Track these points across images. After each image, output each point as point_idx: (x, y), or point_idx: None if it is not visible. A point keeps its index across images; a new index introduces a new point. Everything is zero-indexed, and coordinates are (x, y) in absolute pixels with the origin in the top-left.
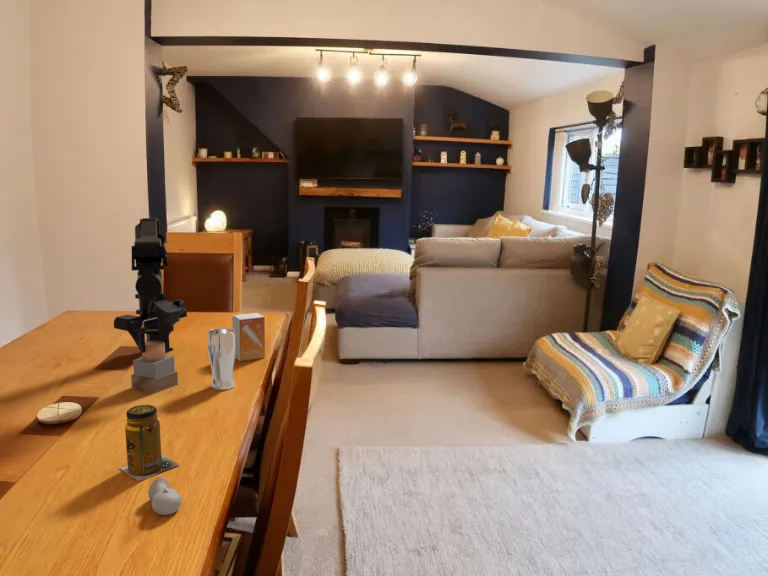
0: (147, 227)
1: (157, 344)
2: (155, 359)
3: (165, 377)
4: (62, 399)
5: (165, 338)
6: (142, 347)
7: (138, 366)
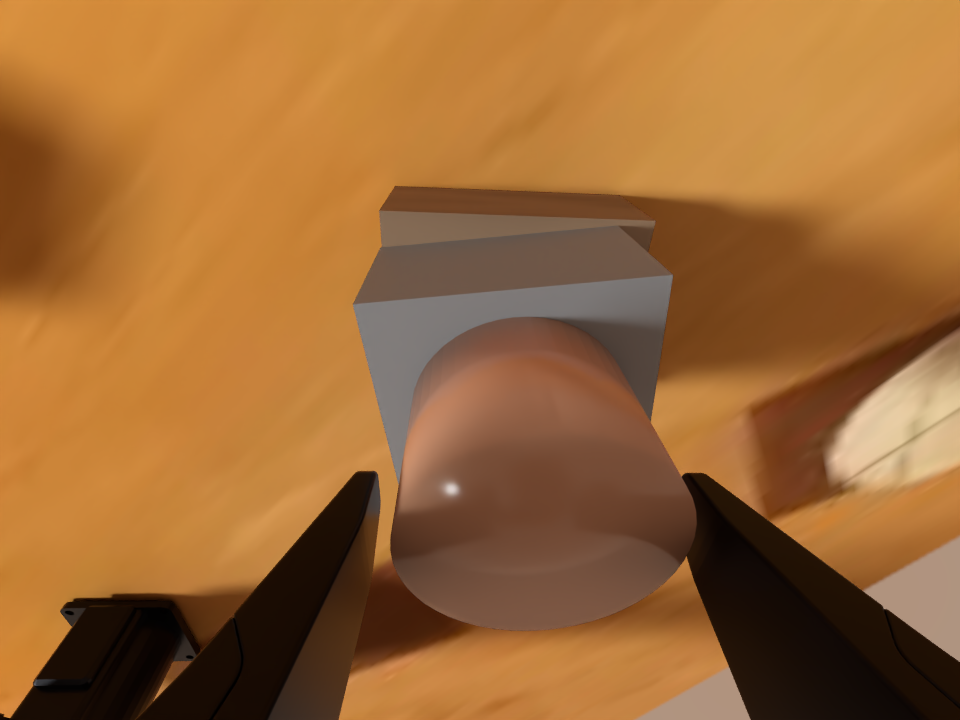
0: None
1: (548, 493)
2: (597, 347)
3: (518, 211)
4: (806, 496)
5: (346, 557)
6: (772, 527)
7: None
